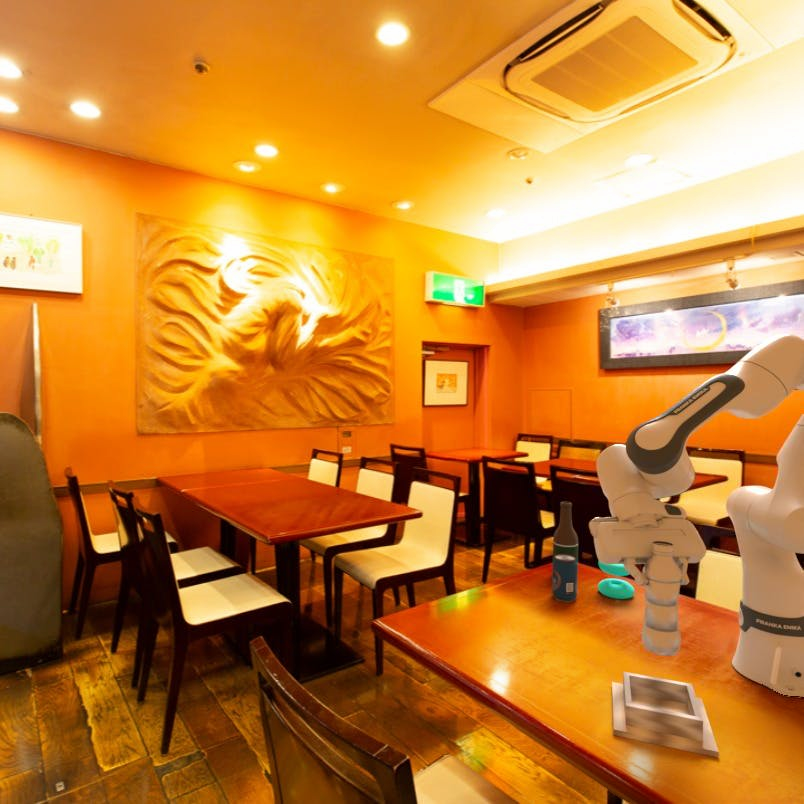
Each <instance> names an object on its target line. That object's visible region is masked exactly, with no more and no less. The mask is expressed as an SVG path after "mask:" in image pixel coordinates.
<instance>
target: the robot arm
mask: <svg viewBox="0 0 804 804" xmlns="http://www.w3.org/2000/svg"><path fill="white" fill-rule="evenodd" d="M793 391H802V392H804V339H803V338H802V337H800V336H797V335H794V334H790V333H781V334H776V335H774V336H771V337H770V338H768V339H766V340H765V341H763V342H762V343H760V344H759V345H757V346H755V348H753V349H751V350H750V351H749V352H748V353H746V355H745V354H744V356H743V357H742V358H741V359H739V360H738V361H737V362H736V363H735V364H734V365H733V366H732V367H731V368H730V369H728V370H727V371H725V372H724V373H720V374H717V375H714V376H712V377H710V378H709V379H707V380H705V381H704V382H703V383H701V384H700V385H698V386H697V387H696V388H695V389H693V390H692V391H691V392H689V393H688V394H686V395H685V396H684V397H683V398H681V399H680V400H679V401H677V402H675V404H673V405H672V406H671V407H669V408H668V409H667V410H666V411H664V412H662V413H661V414H659V415H657V416H655V417H653V418H651V419H649V420H646V421H644V422H642V423H641V424H639V425H637V426H636V427H635V428H633V430H631V432H629V434H628V436H627V439H626V442H625V444H621V443H619V444H618V443H616V444H613V445H610V446H608V447H606V448H605V449H604V450H602V451H601V452H600V454H599V455H598V457H597V459H596V466H595V467H596V472H597V478H598V480H599V484H600V487H601V489H602V493H603V494H604V496H605V497H606V499H607V500H608V509H609V512H610V514H611V516H606V517H601V516H597V517H594V518H593V519H591V520H590V521H589V522H588V528H589V530H590V531H589V532H590V534H591V536H592V537H593V544H594V549H595V554H596V557H597V560H598V562H599V561H600V562H602V563H603V564H623V565H624V568H625V569H626V570H627V571H628V572H629V573H630V574H629V575H631V576H632V577H633V578H634V580H635V583H636V586H638V587H639V586H644V587H645V586H646V584H648V579H647V578H646V575H645V573H643V572H642V571H640V570H639V568H638V567H637V566H636V565H642V564H643V565H645V563H646V562H647V560H648V559H649V558H650V557H651V556H652V554H653V553H651V549H652V542H653V541H666V542H670V543H673V544H674V555H673V556H672V557H673V559H674V561H675V562H676V563H677V565H678V567H679V568H680V571H681V574H682V577H681V584H680V586H683V585H684V586H685V585H687V586H688V584H689V583H690V579H689V576H688V573H687V571H688V565H689V564H697V563H699V562H700V561H701V560H703V558H704V557H705V556H706V553H707V547H706V544H705V542H704V541H703V539H702V537H701V535H700V534H699V531H698V530H697V528H696V527H695V525H694V524H693V523H692V522H691V521H689V520H687V519H686V518H687V516H688V515H687V512H686V510H685V509H684V508H683V507H681V506H678V505H675V504H670V503H667V502H664V501H662V500H661V501H660V500H658V499H664V498H670V497H675V496H678V495H682V494H683V493H685V492H686V491H688V490H689V489H690V488H691V487H692V486H693V485H694V482H695V479H696V471H695V468H694V465H693V462H692V460H691V458H690V456H689V454H688V451H687V449H686V448H687V444H688V440H689V438H690V437H691V436H692V435H693V434H694V433H696V431H698V430H699V429H701V428H702V427H703V426H704V425H706V424H707V423H708V422H710V421H711V420H712V419H713V418H715V417H716V416H717V415H718V414H720V413H723V412H726V413H729V414H730V415H732V416H735V417H737V418H742V419H749V420H750V419H760V418H762V417H763V416H765V415H767V414H768V413H770V412H772V411H773V410H775V409H776V408H777V407H778V406H779V405H780V404H782V403H783V402H784V401H785V399H787V398H788V397H789V396H790V395H791V394H792V393H793ZM776 464H777V466H778V467H777V468H778V469H777V470H778V471H777V476H776V479H775V483H774V486H773V488H769V487H767V486H763V485H743V486H739V487H737V488H736V489H733V490H732V492H730V494H729V495H728V497H727V499H726V503H725V507H726V508H725V510H726V513H727V516H728V517H729V518H730V520H731V522H732V525H733V528H734V532H735V535H736V536H735V537H736V540H737V545H738V550H739V555H740V558H741V559H740V560H741V567H742V568H741V569H742V588H741V589H742V592H741V593H742V594H741V595H742V599H740V601H739V607H738V624H739V627H740V629H739V636H738V637H739V638H738V643H737V646H736V650H735V653H734V655H733V658H732V661H731V664H732V667H734V670H736V671H737V672H738V673H739V674H740V675H741V676H744V677H746V678H747V679H749V680H751V681H754V682H756V683H758V684H761V685H762V684H763V686H764V687H767V688H769V689H771V690H772V689H773V690H772V691H774V692H775V691H776V692H775V693H777V692H778V693H777V694H779V693H780V694H779V695H781V694H783V695H782V696H784V695H788V696H787V697H790V696H803V697H804V569H803V568H802V566H801V564H800V562H799V560H798V558H797V555H796V554H802V555H803V554H804V413H803V414H802V415H801V416H800V418H799V420H797V422H796V424H795V426H794V427H793V428H792V431H791V432H790V434H789V435H788V437H787V438H786V439H785V441H784V443H783V445H782V446H781V448H780V449H779V450H778V453H777V454H776Z"/></svg>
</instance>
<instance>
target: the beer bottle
mask: <svg viewBox="0 0 804 804" xmlns="http://www.w3.org/2000/svg"><path fill="white" fill-rule="evenodd" d="M559 506H560V513H559V514H560V515H559V524H558V527H557V528H556V530H555V531H554V533H553V537H552V539H553V540H552V561H553V560H554V558H555V555H558V554H567V555H572V556H574V557H575V558H576V559H575V560H576V562H577V564H578V565H579V536H578V534H577V532H576V531H575V528H574V527H573V518H572V517H573V515H572V507H573V503H572V502H570V501H560V504H559ZM578 575H579V572H578V573H577V577H578Z"/></svg>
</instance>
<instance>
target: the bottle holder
mask: <svg viewBox="0 0 804 804" xmlns="http://www.w3.org/2000/svg"><path fill="white" fill-rule="evenodd" d="M622 675H623V677H622V678H623V681H622V683H620V682H615V681H611V692H612V693H611V695H612V697H611V698H612V722H613V723H612V725H613V728H612V729H613V736H616V737H617V736H618V737H620V738H626V739H631V740H636V741H640V742H645V743H649V744H654V745H658V746H659V745H660V746H663V747H667V748H672V749H676V750H681V751H686V752H688V753H689V752H690V753H695V754H697V755H698V754H699V755H704V756H707V755H708V756H709V757H712V756H714V757H713V758H716V757H719V758H720V756H719V755H720V752H719V748H718V745H717V742H716V739H715V737H714V733H713V730H712V727H711V724H710V720H709V718H708V717H709V716H708V715H707V711H706V708H705V705H704V701H703V699H702V698H701V697H696V693H695V689H694V687H693V684H692V683H688V682H682V681H677V680H671V679H665V678H660V677H654V676H648V675H645V674H643V675H642V674H638V673H632V672H627V671H623V674H622Z"/></svg>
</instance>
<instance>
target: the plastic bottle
mask: <svg viewBox="0 0 804 804" xmlns="http://www.w3.org/2000/svg"><path fill="white" fill-rule="evenodd" d="M651 553H653V554H652V556H651V557H650V558H649V559H648V560H647V562H646V563H645V564H643V565H644V566H643V567H642V573H645V575H646V578H647V579H648V584H646V586H644V592H645V593H644V595H645V596H644V597H645V610H644V617H643V618H644V620H643V624H642V629H641V634H640V635H641V640H642V641H641V642H642V646H644V648H645V649H646V651H648V652H650V653H652V654H655V655H658V656H661V657H672V656H676V655H677V654H678V653H679V651H680V650H681V643H682V639H681V631H680V628H679V617H678V614H679V613H678V607H679V605H678V604H679V595H680V589H681V585H680V584H681V577H682V574H681V571H680V568H679V567H678V565H677V563H676V562H675V561H674V559H673V557H672V556H673V555H674V544H673V543H670V542H666V541H653V542H652V549H651Z"/></svg>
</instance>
